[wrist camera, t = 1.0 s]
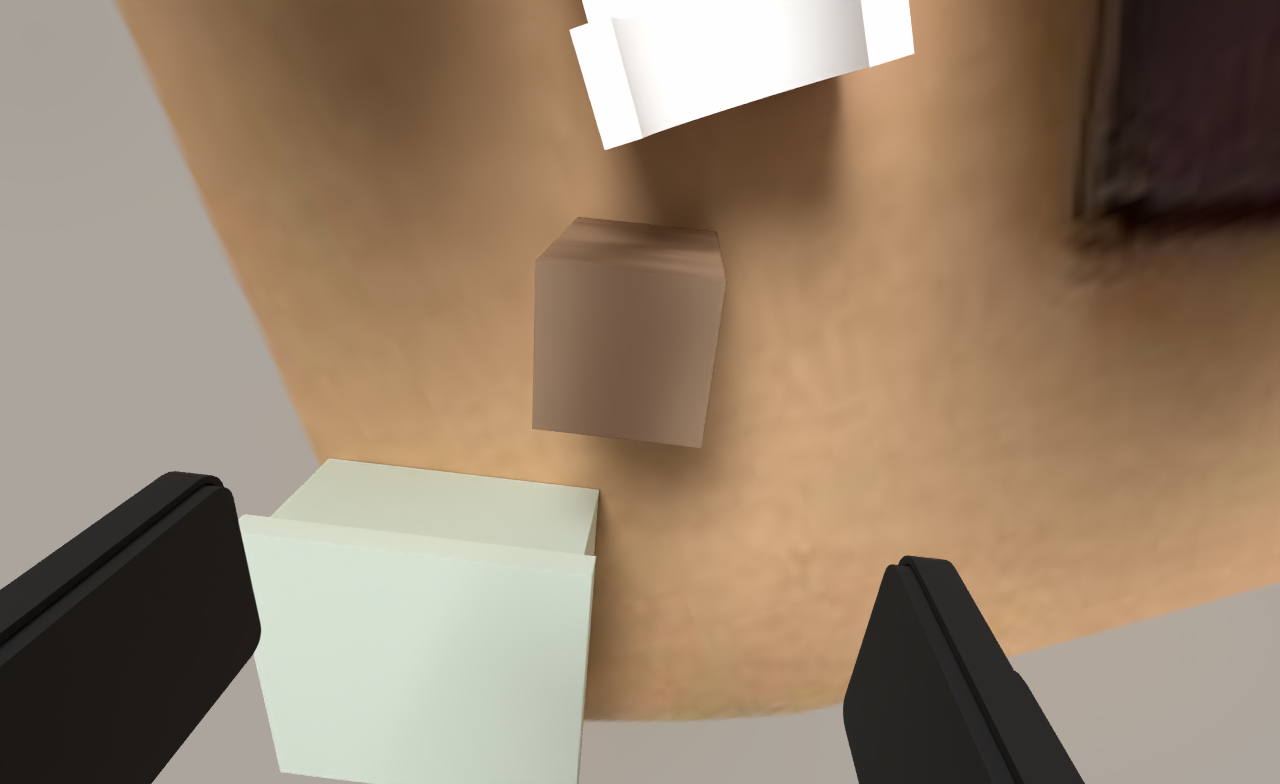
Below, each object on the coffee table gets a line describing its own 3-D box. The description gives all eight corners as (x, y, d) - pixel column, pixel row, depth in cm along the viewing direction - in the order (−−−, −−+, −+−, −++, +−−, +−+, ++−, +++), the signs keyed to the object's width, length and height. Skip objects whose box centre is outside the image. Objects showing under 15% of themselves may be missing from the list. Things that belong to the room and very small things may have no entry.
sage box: (611, 481, 27) (592, 574, 22) (593, 693, 33) (574, 810, 27) (317, 447, 28) (225, 531, 22) (347, 662, 33) (280, 771, 28)
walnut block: (715, 231, 23) (726, 280, 16) (698, 359, 25) (701, 448, 19) (578, 216, 23) (535, 260, 17) (572, 345, 25) (532, 428, 19)
